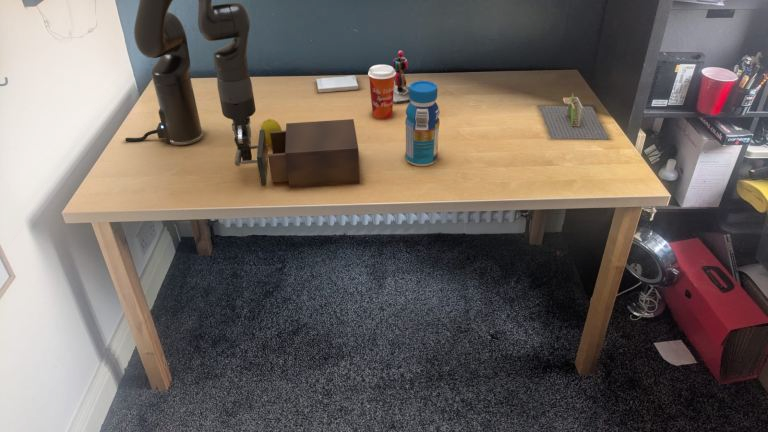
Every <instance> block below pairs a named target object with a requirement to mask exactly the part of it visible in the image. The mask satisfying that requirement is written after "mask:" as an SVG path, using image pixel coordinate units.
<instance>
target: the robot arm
mask: <svg viewBox="0 0 768 432" xmlns="http://www.w3.org/2000/svg"><path fill="white" fill-rule="evenodd" d="M197 1H198V4H197V5H198V6H197V7H198V9H197V10H198V11H197V25H198V30H199V33H200V35H201V36H202V37H203V38H204V39H205V40H206V41H208V42H218V41H223V40H230V39H231V41H230V42H229V43H228V44H226V45H225V46H222V47H219V48H218V49H217V50H215V51H214V53H213V63H214V68H215V72H216V73H215V74H216V80H217V81H216V82H217V83H216V84H217V91H218V96H219V102H220V107H221V113H222V115H223V117H225V118H226V119H228V120H232V123H231V129H232V132H233V134H234V138H233V141H234V143H235V146H236V149H237V148H238V150H241V155H242V158H241V161H245V160H253V156H252V155H253V154H252V149H251V148H250V146H251V144H252V141H251V138H252V131H251V117H252V116H253V115H255V113H256V110H257V109H256V101H255V95H254V90H253V84H252V83H253V82H252V79H251V76H250V71H249V64H248V57H247V55H248V54H247V52H248V51H247V50H248V39H249V33H250V25H251V21H250V14H249V11H248V9H247V8H246V7H245V6H244V5H243V4H242V3H240V2H238V1H233V2H227V3H220V4H214V5H213V3H212V0H197ZM173 2H174V0H139V2H138V7H137V11H136V16H135V21H134V27H133V36H134V42H135V45H136V47H137V50H138V51H139V52H140V54H141V55H143V56H144V57H146V58H148V59H158V60H157V61H156V63H155V64H154V66H153V67H152V68H151V71H150V73H151V79H152V82H153V87H154V91H155V95H156V99H157V103H158V106H159V109H158V116H159V120H160V122H159V123H158V124H157V127H156V129H152V130H149V131H147V132H145V133H144V135H143V136H141V137H125V138H124V139H125V140H124V141H126V142H142V141H144V140H146V139H147V138H148V137H149V136H151V135H154V134H157V137H158V139H164V140H165V143H166V144H168V145H169V144H171V145H173V146H189V145H191V144H192V145H193V144H195V143H197V142H199V141H200V140H202V138H203V137H204V132H203V129H202V125H201V121H200V115H199V111H198V106H197V101H196V97H195V92H194V88H193V84H192V79H191V74H190V68H191V58H190V52H189V45H188V39H187V34H186V30H185V28H184V25H183V23H182V22H181V20H180V19H179V17H177V16H176V14H174V13H172V12H170V11H169V9H170V6H171V5H172V3H173Z"/></svg>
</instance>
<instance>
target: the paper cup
mask: <svg viewBox="0 0 768 432" xmlns="http://www.w3.org/2000/svg"><path fill="white" fill-rule="evenodd" d="M395 71H396V70H395V69H394V66H391V65H389V64H375V65H372V66H371V67H369V69H368V72H367V76H368V79H369V90H370V91H369V92H370V100H371V110H372V112H371V113H372V116H373V118H374V119H376V120H387V119H391V118H392V116H393V108H394V107H393V106H394V101H393V92H394V87H395V81H394V76H395V74H396V72H395Z"/></svg>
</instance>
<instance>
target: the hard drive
mask: <svg viewBox="0 0 768 432" xmlns="http://www.w3.org/2000/svg"><path fill="white" fill-rule="evenodd" d="M315 79H316V81H315V82H316V86H317V92H318V93H319V94H321V93H331V92H333V93H334V92H343V91H344V92H345V91H356V90H359V84H358V81H357V78H356V76H355V75H346V76H332V77H320V78H319V77H318V78H315Z"/></svg>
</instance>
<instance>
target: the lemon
mask: <svg viewBox="0 0 768 432" xmlns="http://www.w3.org/2000/svg"><path fill="white" fill-rule="evenodd" d="M263 129H264V130H265V137H266V143H267V146H271V147H272V143H271V136H270V132H271V131H283V130H282V127H281V125H280V123H279V122H278V120H275V119H273V118H267V119H266V120H264V121H263V122H262V123H261V125H260V130H263Z"/></svg>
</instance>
